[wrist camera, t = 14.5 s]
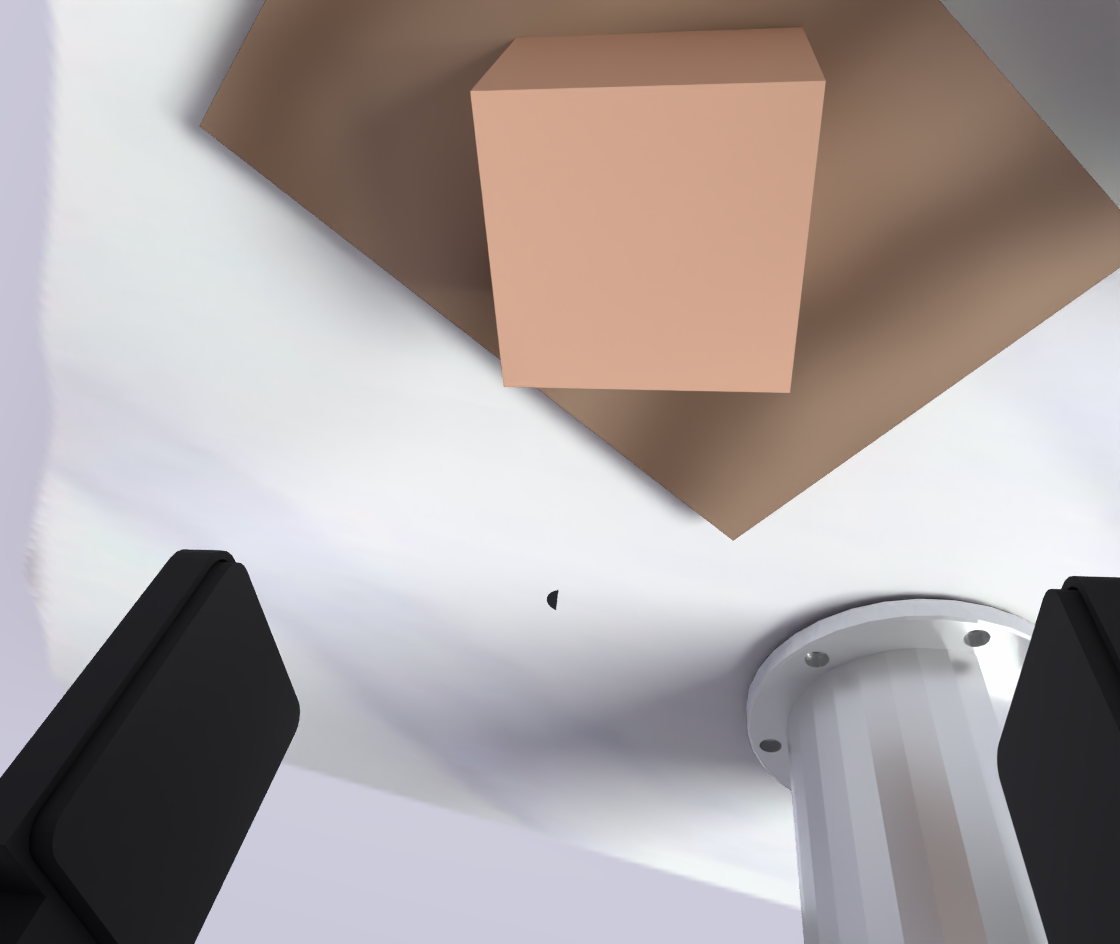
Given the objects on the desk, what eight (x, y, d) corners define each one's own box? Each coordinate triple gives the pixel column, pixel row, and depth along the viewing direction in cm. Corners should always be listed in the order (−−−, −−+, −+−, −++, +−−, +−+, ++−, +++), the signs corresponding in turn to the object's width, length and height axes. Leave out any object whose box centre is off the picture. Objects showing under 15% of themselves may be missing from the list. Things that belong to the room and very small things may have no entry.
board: (1128, 223, 23) (1220, 313, 19) (732, 512, 30) (735, 622, 26) (534, -462, 17) (477, -553, 13) (224, 110, 24) (125, 171, 20)
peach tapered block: (802, 27, 20) (825, 80, 16) (776, 296, 24) (790, 392, 20) (516, 38, 21) (470, 91, 17) (536, 294, 25) (503, 387, 21)
